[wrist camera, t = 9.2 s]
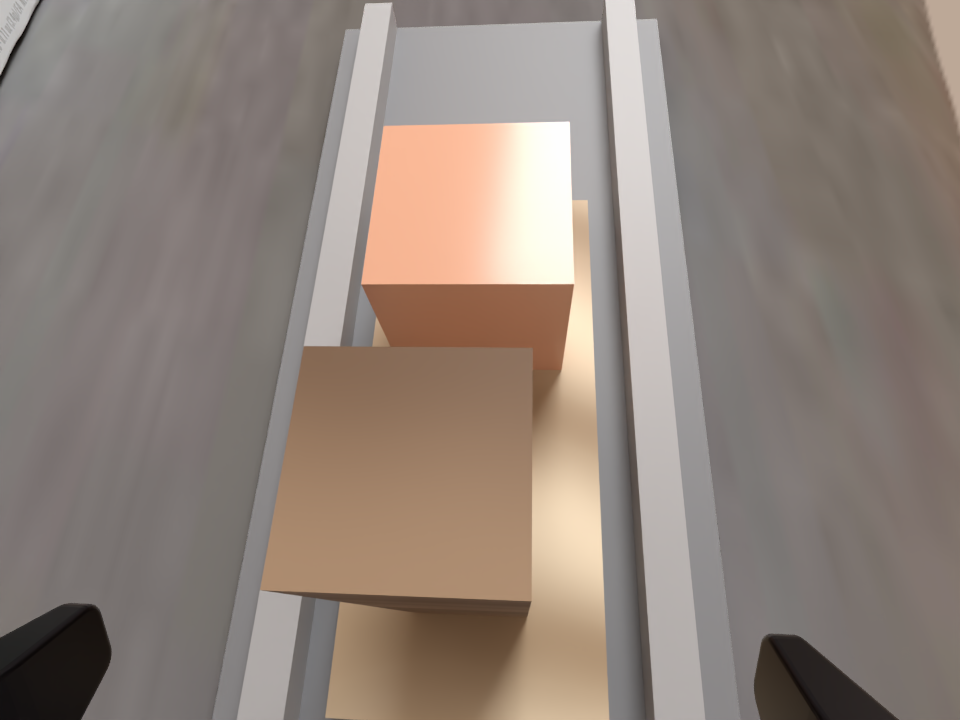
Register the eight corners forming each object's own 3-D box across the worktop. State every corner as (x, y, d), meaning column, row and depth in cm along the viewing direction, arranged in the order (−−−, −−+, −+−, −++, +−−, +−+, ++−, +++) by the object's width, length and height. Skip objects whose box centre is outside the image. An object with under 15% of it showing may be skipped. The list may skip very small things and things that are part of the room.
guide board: (746, 869, 15) (780, 906, 13) (207, 829, 16) (161, 857, 14) (652, 39, 27) (662, -8, 25) (351, 49, 28) (338, 4, 26)
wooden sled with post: (604, 728, 15) (761, 921, 5) (336, 712, 16) (9, 859, 6) (585, 217, 22) (636, -132, 12) (396, 219, 22) (291, -114, 12)
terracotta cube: (561, 370, 18) (574, 284, 14) (400, 368, 19) (361, 284, 14) (559, 235, 20) (569, 121, 16) (414, 236, 21) (383, 126, 16)
